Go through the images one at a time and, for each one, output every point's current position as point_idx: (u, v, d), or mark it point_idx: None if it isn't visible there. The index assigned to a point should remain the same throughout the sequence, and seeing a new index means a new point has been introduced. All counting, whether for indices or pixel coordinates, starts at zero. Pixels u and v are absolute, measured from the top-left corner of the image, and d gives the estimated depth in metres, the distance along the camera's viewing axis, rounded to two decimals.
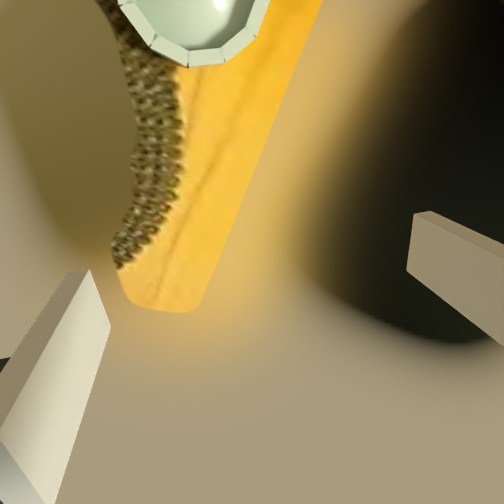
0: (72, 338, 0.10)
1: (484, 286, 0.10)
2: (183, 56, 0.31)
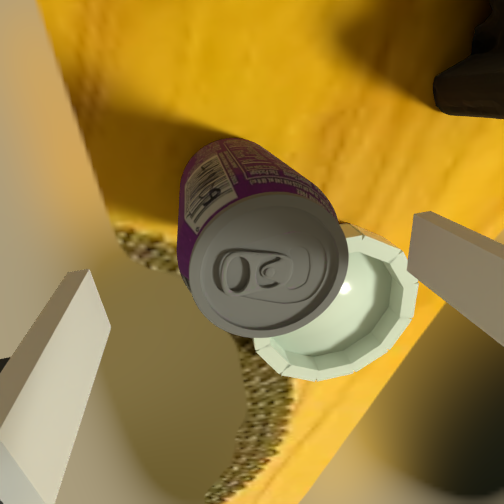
0: (72, 338, 0.10)
1: (484, 286, 0.10)
2: (313, 375, 0.29)
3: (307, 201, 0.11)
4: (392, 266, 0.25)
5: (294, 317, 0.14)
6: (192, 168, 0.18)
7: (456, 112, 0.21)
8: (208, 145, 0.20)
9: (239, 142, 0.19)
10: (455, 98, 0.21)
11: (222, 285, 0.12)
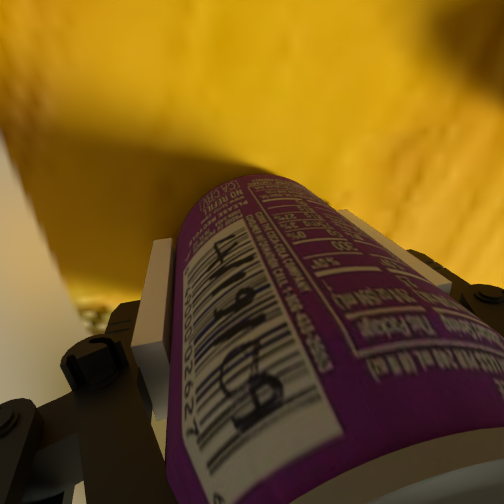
0: (173, 289, 0.11)
1: None
2: None
3: None
4: None
5: None
6: (196, 236, 0.10)
7: None
8: (221, 187, 0.12)
9: (275, 186, 0.11)
10: None
11: None
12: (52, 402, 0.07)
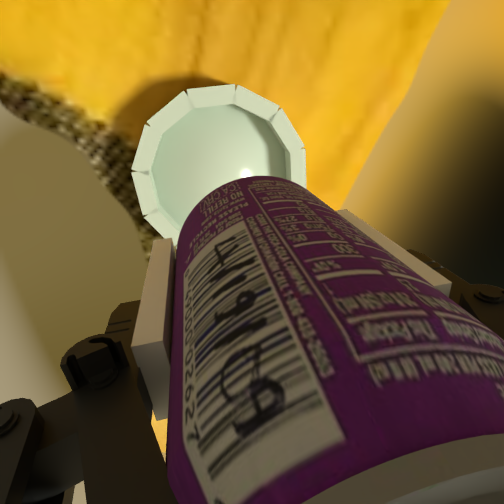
0: (173, 289, 0.11)
1: None
2: None
3: None
4: (273, 125, 0.25)
5: None
6: (197, 238, 0.10)
7: None
8: (222, 189, 0.12)
9: (275, 188, 0.11)
10: None
11: None
12: (52, 402, 0.07)
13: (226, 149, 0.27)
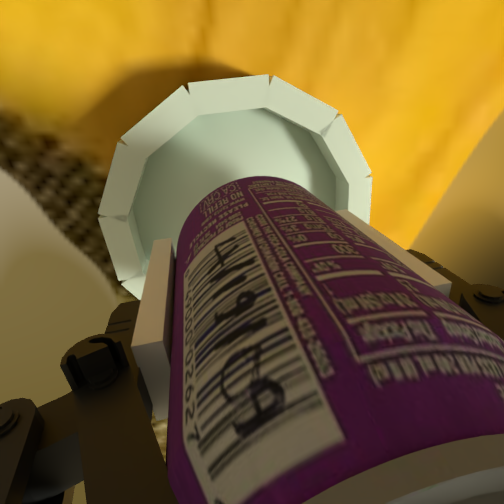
0: (173, 289, 0.11)
1: None
2: None
3: None
4: (326, 142, 0.16)
5: None
6: (197, 238, 0.10)
7: None
8: (222, 189, 0.12)
9: (275, 188, 0.11)
10: None
11: None
12: (52, 402, 0.07)
13: (248, 176, 0.18)
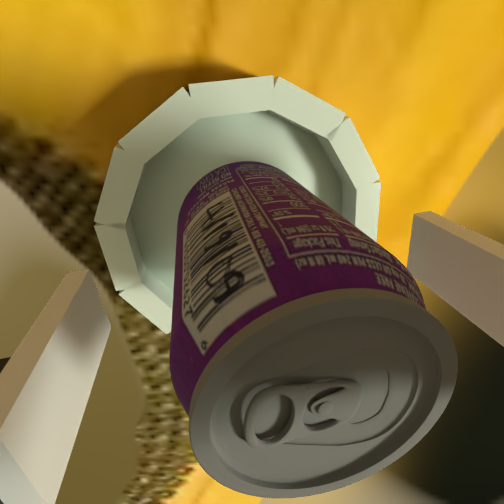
0: (72, 338, 0.10)
1: (484, 286, 0.10)
2: None
3: (404, 306, 0.06)
4: (334, 146, 0.15)
5: (356, 460, 0.09)
6: (193, 207, 0.13)
7: None
8: (215, 171, 0.15)
9: (257, 169, 0.14)
10: None
11: (246, 437, 0.07)
12: None
13: None
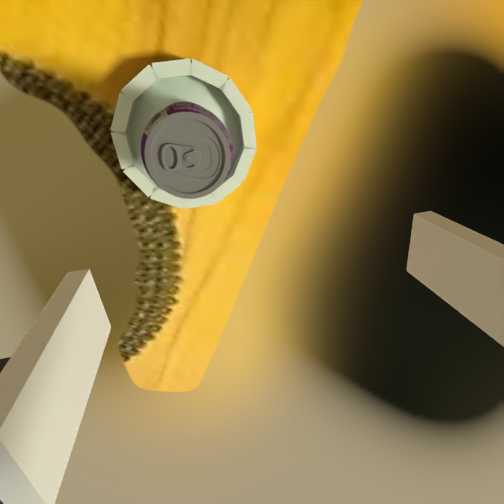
0: (72, 338, 0.10)
1: (484, 286, 0.10)
2: (179, 201, 0.35)
3: (201, 116, 0.22)
4: (224, 92, 0.31)
5: (206, 187, 0.25)
6: None
7: None
8: None
9: None
10: None
11: (162, 163, 0.23)
12: None
13: None
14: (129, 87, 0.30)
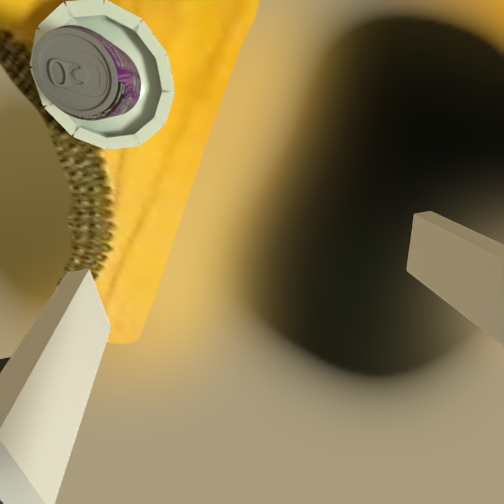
0: (72, 338, 0.10)
1: (484, 286, 0.10)
2: (102, 142, 0.37)
3: (84, 33, 0.25)
4: (138, 34, 0.34)
5: (97, 106, 0.27)
6: None
7: None
8: None
9: None
10: None
11: (51, 78, 0.25)
12: None
13: None
14: (45, 24, 0.32)
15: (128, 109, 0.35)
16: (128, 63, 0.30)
